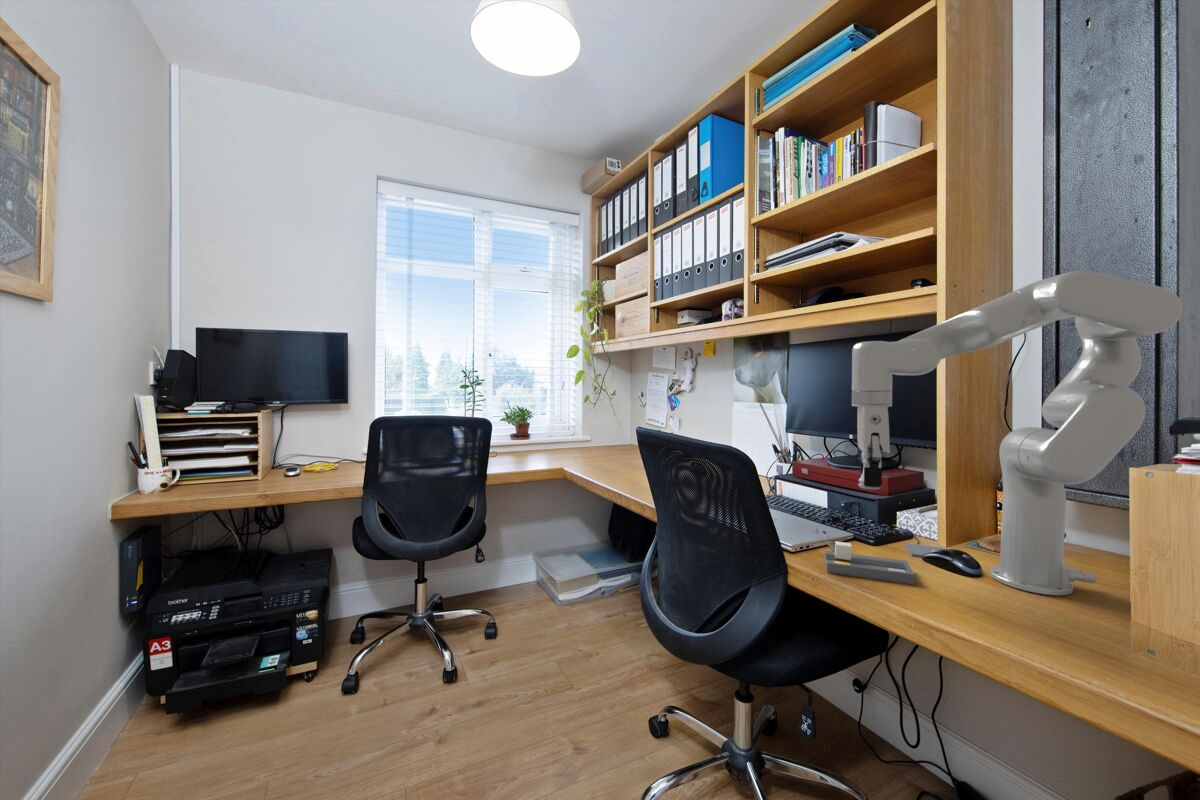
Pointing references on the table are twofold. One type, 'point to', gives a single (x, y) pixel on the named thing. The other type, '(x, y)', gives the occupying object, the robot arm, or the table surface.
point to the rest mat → (919, 549)
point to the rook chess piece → (863, 475)
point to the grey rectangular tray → (870, 567)
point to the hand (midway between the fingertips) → (870, 483)
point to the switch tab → (843, 550)
